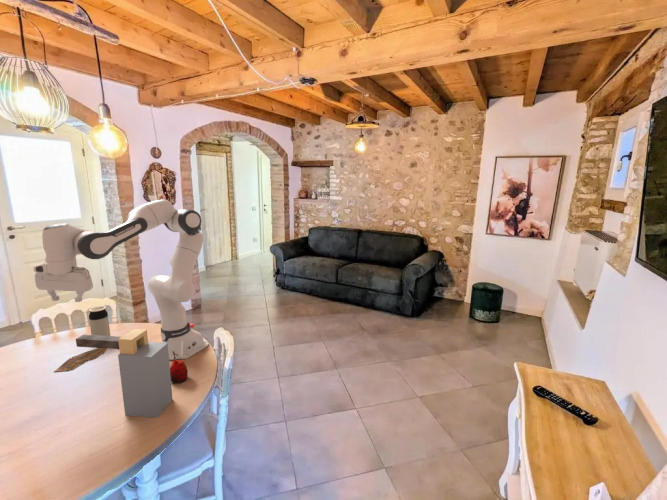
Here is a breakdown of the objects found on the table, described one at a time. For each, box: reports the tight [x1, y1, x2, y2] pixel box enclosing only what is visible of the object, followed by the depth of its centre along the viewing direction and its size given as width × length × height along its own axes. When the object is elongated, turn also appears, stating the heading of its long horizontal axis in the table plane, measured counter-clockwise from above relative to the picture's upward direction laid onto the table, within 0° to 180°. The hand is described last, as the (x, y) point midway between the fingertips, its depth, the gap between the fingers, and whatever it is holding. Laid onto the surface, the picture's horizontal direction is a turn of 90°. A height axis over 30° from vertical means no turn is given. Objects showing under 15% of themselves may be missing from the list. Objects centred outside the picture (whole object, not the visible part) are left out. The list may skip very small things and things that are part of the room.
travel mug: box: [88, 305, 111, 336], centre depth 168 cm, size 8×8×18 cm
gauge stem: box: [75, 334, 122, 350], centre depth 117 cm, size 20×4×3 cm, turn 86°
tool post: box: [117, 328, 173, 419], centre depth 118 cm, size 12×10×30 cm
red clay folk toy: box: [170, 351, 189, 384], centre depth 137 cm, size 8×7×15 cm
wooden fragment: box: [53, 348, 108, 373], centre depth 153 cm, size 26×11×1 cm, turn 163°
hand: (67, 300), depth 125 cm, fingers open, 8 cm apart
